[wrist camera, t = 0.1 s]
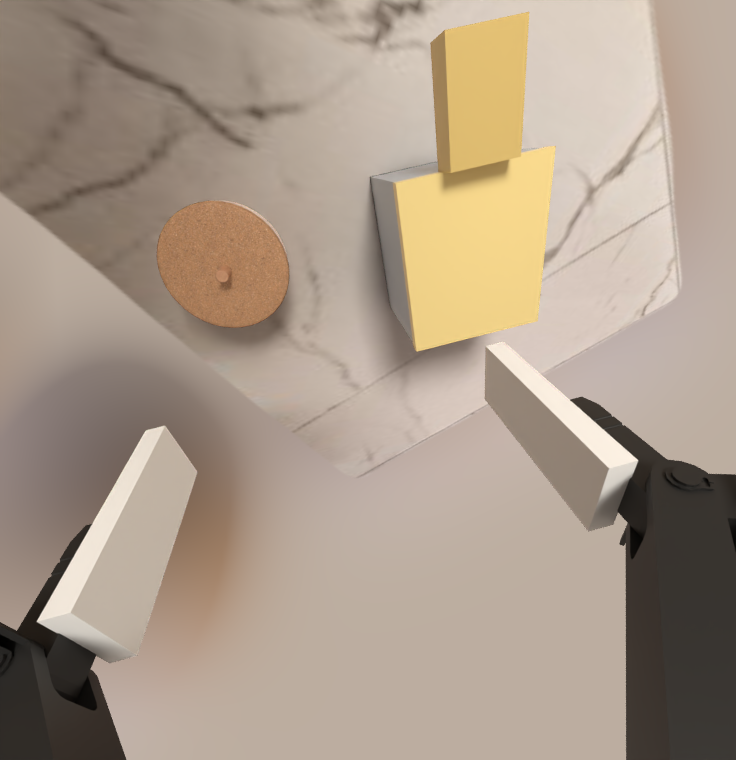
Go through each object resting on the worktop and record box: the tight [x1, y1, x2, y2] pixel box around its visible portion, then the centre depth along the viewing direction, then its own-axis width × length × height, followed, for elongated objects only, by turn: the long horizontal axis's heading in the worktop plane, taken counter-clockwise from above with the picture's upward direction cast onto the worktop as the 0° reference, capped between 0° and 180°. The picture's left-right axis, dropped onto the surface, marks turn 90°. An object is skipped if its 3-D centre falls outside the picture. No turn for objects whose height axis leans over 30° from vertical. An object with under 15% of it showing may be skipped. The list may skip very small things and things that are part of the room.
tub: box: [370, 148, 539, 342], centre depth 34 cm, size 14×12×11 cm
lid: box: [393, 12, 556, 352], centre depth 26 cm, size 21×12×2 cm, turn 11°
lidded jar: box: [157, 200, 289, 328], centre depth 32 cm, size 11×11×9 cm
